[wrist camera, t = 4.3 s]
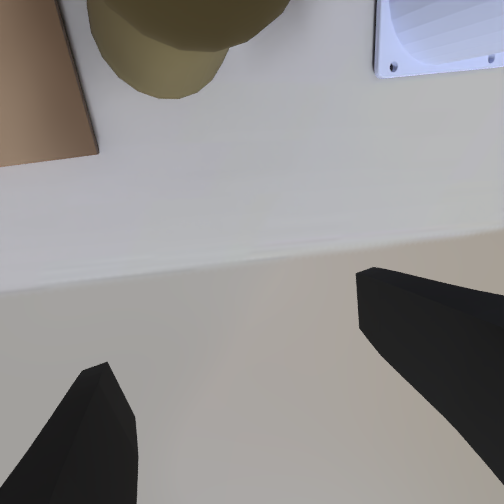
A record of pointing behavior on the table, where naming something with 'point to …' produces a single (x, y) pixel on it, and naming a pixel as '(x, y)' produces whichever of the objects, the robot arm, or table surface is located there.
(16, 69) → the light brown board
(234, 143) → the table surface
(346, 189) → the table surface
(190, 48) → the cork
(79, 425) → the robot arm
